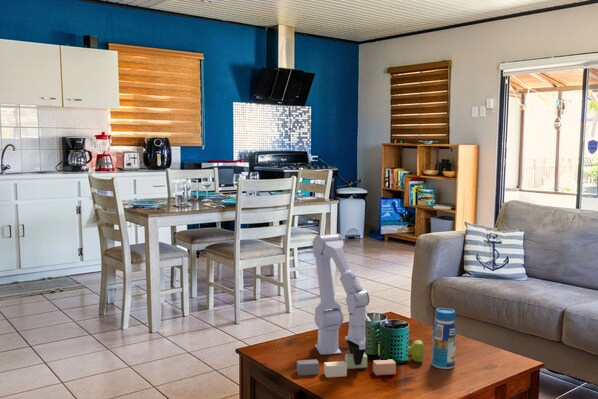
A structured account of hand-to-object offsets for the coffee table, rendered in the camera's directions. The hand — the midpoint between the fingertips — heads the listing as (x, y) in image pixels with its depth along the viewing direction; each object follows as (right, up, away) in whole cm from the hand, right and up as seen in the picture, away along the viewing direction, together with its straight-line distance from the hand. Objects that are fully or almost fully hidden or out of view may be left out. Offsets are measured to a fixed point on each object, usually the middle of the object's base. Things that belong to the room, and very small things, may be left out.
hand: (356, 362), depth 208 cm
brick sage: (0, -1, 0) cm, 1 cm away
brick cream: (-8, -2, -7) cm, 11 cm away
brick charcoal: (-17, -2, -6) cm, 18 cm away
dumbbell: (+17, -1, +7) cm, 18 cm away
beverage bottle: (+31, -2, +2) cm, 31 cm away
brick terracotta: (+9, -2, -5) cm, 11 cm away
